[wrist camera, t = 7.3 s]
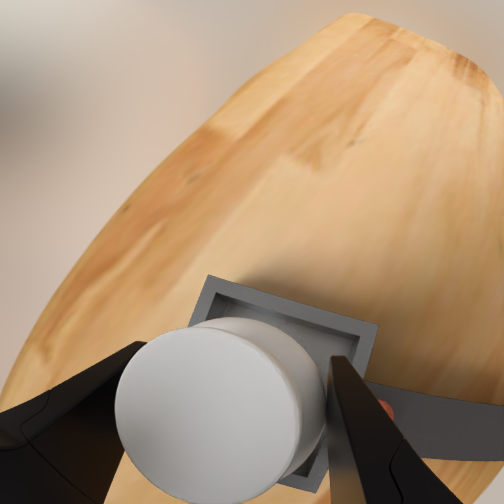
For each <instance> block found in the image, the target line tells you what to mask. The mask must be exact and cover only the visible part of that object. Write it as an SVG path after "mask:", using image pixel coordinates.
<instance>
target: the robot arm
mask: <svg viewBox="0 0 504 504" xmlns="http://www.w3.org/2000/svg"><path fill="white" fill-rule="evenodd" d="M146 344H147V342H142V341H135V342H133V343H132V344H130V345H128V346H126V347H125V348H123V349H121V350H119V351H118V352H116V353H114V354H112V355H111V356H109V357H107V358H105V359H103V360H102V361H100V362H98V363H96V364H95V365H93V366H91V367H89V368H88V369H86V370H84V371H82V372H80V373H79V374H77V375H75V376H73V377H71V378H70V379H68V380H66V381H64V382H62V383H61V384H59V385H57V386H55V387H53V388H52V389H51V390H48V391H46V392H44V393H42V394H40V395H39V396H37V397H35V398H33V399H31V400H29V401H27V402H24V403H22V404H20V405H18V406H15V407H13V408H11V409H8V410H6V411H4V412H1V413H0V504H103V503H104V501H105V498H106V496H107V493H108V491H109V488H110V486H111V483H112V481H113V478H114V476H115V473H116V471H117V468H118V466H119V463H120V461H121V458H122V456H123V454H124V451H125V449H124V447H123V445H122V442H121V439H120V437H119V434H118V430H117V425H116V418H115V399H116V392H117V388H118V384H119V381H120V378H121V376H122V374H123V372H124V370H125V368H126V366H127V365H128V363H129V361H130V360H131V359H132V357H133V356H134V355H135V354H136V353H137V352H138V351H139V350H140V349H141V348H142V347H143V346H144V345H146ZM326 437H327V449H328V462H329V476H330V491H331V504H463V503H462V502H461V501H460V500H459V499H458V498H457V497H456V496H455V495H454V494H453V493H452V492H451V491H450V490H449V489H448V487H447V486H446V485H445V484H444V483H443V482H442V481H441V480H440V479H439V478H438V477H437V476H436V475H435V474H434V473H433V472H432V471H431V469H430V468H429V467H428V466H427V465H426V464H425V463H424V462H423V460H422V459H421V458H420V457H419V455H418V454H417V453H416V451H415V450H414V449H413V447H412V446H411V445H410V443H409V442H408V440H407V439H406V438H404V435H403V434H402V432H401V431H400V430H399V428H398V427H397V425H396V424H395V423H394V421H393V420H392V419H391V417H390V416H389V414H388V413H387V412H386V410H385V409H384V408H383V406H382V405H381V403H380V402H379V401H378V399H377V398H376V397H375V395H374V394H373V392H372V391H371V390H370V388H369V387H368V386H367V384H366V383H365V382H364V380H363V379H362V378H361V376H360V375H359V373H358V372H357V371H356V369H355V368H354V367H353V365H352V364H351V363H350V361H349V360H348V359H347V357H346V356H345V355H332V356H331V357H330V361H329V369H328V376H327V407H326Z"/></svg>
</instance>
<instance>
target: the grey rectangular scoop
mask: <svg viewBox="0 0 504 504" xmlns="http://www.w3.org/2000/svg"><path fill="white" fill-rule="evenodd" d="M225 317H239V318H247V319H253V320H257V321H260V322H263V323H266V324H269V325H271V326H273V327H275V328H277V329H279V330H281V331H283V332H284V333H286V334H287V335H289V336H290V337H292V338H293V339H294V340H295V341H296V342H297V343H298V344H300V345H301V346H302V347H303V349H304V350H305V351H306V352H307V353H308V354H309V356H310V357H311V359H312V360H313V362H314V363H315V365H316V367H317V369H318V371H319V373H320V376H321V378H322V381H323V384H324V388H325V393H326V404H327V376H328V369H329V361H330V357H331V356H332V355H345V356H346V357H347V359H348V360H349V361H350V363H351V364H352V365H353V367H354V368H355V369H356V371H357V372H358V373H359V375H360V376H361V378H362V379H363V378H364V375H365V371H366V368H367V365H368V362H369V359H370V355H371V352H372V348H373V345H374V341H375V338H376V334H377V330H378V326H379V325H377V324H373V323H369V322H366V321H362V320H358V319H355V318H351V317H347V316H344V315H340V314H337V313H333V312H330V311H326V310H323V309H319V308H316V307H312V306H309V305H306V304H302V303H299V302H295V301H292V300H289V299H285V298H282V297H279V296H275V295H272V294H269V293H266V292H262V291H259V290H256V289H253V288H249V287H246V286H243V285H240V284H237V283H233V282H230V281H227V280H224V279H221V278H218V277H215V276H212V275H208V276H207V279H206V281H205V284H204V286H203V289H202V291H201V294H200V296H199V299H198V301H197V304H196V307H195V309H194V312H193V314H192V317H191V319H190V322H189V325H188V327H192V326H194V325H196V324H199V323H201V322H205V321H208V320H212V319H217V318H225ZM364 382H365V383H366V384H367V386H368V387H369V388H370V390H371V391H372V392H373V394H374V395H375V397H376V398H377V399H378V401H379V402H380V403H381V405H382V406H383V408H384V409H385V410H386V412H387V413H388V414H389V416H390V417H391V419H392V420H393V421H394V423H395V424H396V425H397V427H398V428H399V430H400V431H401V432H402V434H403V435H404V438H406V439H407V440H408V442H409V443H410V445H411V446H412V447H413V449H414V450H415V451H416V453H417V454H418V455H419V457H421V458H431V459H443V460H459V461H504V406H500V405H491V404H483V403H476V402H469V401H462V400H456V399H449V398H444V397H438V396H432V395H427V394H422V393H417V392H412V391H407V390H403V389H398V388H393V387H389V386H385V385H380V384H376V383H372V382H368V381H364ZM328 467H329V462H328V449H327V437H326V419H325V424H324V428H323V431H322V434H321V436H320V439H319V441H318V443H317V445H316V447H315V448H314V450H313V451H312V453H311V454H310V455H309V457H308V458H307V459H306V460H305V461H304V462H303V463H302V464H301V465H300V466H299V467H298V468H297V469H296V470H295V471H293V472H292V473H291V474H289V475H288V476H286V477H284V478H283V479H281V480H279V481H278V482H277V483H279V484H282V485H286V486H289V487H293V488H297V489H300V490H304V491H308V492H313V493H316V492H317V490H318V488H319V486H320V484H321V482H322V480H323V478H324V476H325V474H326V472H327V469H328Z"/></svg>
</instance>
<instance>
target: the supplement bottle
mask: <svg viewBox="0 0 504 504" xmlns="http://www.w3.org/2000/svg"><path fill="white" fill-rule="evenodd" d="M326 407H327V404H326V393H325V388H324V384H323V381H322V378H321V376H320V373H319V371H318V369H317V367H316V365H315V363H314V362H313V360H312V359H311V357H310V356H309V354H308V353H307V352H306V351H305V350H304V349H303V347H302V346H301V345H300V344H298V343H297V342H296V341H295V340H294V339H293V338H292V337H290V336H289V335H287V334H286V333H284V332H283V331H281V330H279V329H277V328H275V327H273V326H271V325H269V324H266V323H263V322H260V321H257V320H253V319H247V318H239V317H225V318H217V319H212V320H208V321H205V322H201V323H199V324H196V325H194V326H192V327H187V328H181V329H176V330H173V331H170V332H167V333H165V334H162V335H160V336H158V337H157V338H155V339H153V340H151V341H150V342H148V343H147V344H146V345H144V346H143V347H142V348H141V349H140V350H139V351H138V352H137V353H136V354H135V355H134V356H133V357H132V359H131V360H130V361H129V363H128V365H127V366H126V368H125V370H124V372H123V374H122V376H121V378H120V381H119V384H118V388H117V392H116V399H115V418H116V425H117V430H118V434H119V437H120V439H121V442H122V445H123V447H124V449H125V451H126V453H127V455H128V456H129V458H130V459H131V461H132V463H133V464H134V465H135V467H136V468H137V469H138V470H139V471H140V472H141V473H142V474H143V475H144V476H145V477H146V478H147V479H148V480H149V481H150V482H151V483H152V484H154V485H155V486H156V487H158V488H159V489H161V490H162V491H164V492H165V493H167V494H169V495H171V496H173V497H175V498H178V499H181V500H183V501H186V502H190V503H193V504H238V503H242V502H245V501H248V500H251V499H253V498H255V497H257V496H259V495H261V494H263V493H264V492H266V491H267V490H268V489H270V488H271V487H272V486H274V485H275V484H276V483H277V482H278V481H279V480H281V479H283V478H284V477H286V476H288V475H289V474H291V473H292V472H293V471H295V470H296V469H297V468H298V467H299V466H300V465H301V464H302V463H303V462H304V461H305V460H306V459H307V458H308V457H309V455H310V454H311V453H312V451H313V450H314V448H315V447H316V445H317V443H318V441H319V439H320V436H321V434H322V431H323V428H324V424H325V419H326Z"/></svg>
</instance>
